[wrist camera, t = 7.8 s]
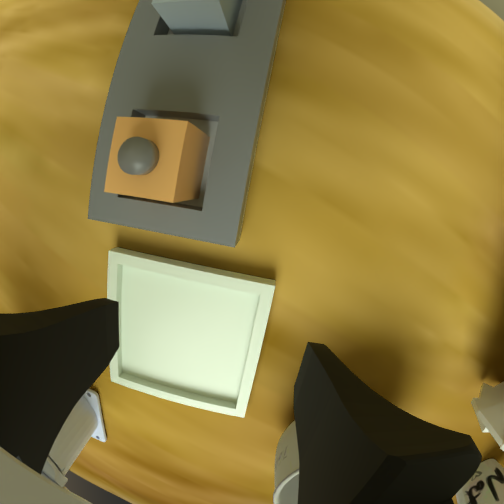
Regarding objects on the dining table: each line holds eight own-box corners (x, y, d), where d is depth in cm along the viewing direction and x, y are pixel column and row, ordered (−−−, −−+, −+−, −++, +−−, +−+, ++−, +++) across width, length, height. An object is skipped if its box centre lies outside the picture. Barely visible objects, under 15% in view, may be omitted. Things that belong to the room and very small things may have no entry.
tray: (116, 373, 23) (111, 381, 22) (116, 246, 20) (108, 250, 19) (245, 408, 22) (243, 417, 21) (275, 280, 20) (275, 286, 19)
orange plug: (142, 189, 19) (93, 192, 13) (153, 130, 18) (107, 113, 12) (198, 198, 19) (165, 204, 13) (210, 137, 18) (181, 116, 12)
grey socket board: (105, 214, 20) (87, 218, 17) (165, -20, 15) (155, -35, 13) (239, 239, 19) (234, 247, 17) (289, -17, 15) (290, -35, 13)
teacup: (256, 405, 22) (247, 480, 15) (383, 360, 21) (418, 428, 13) (306, 483, 25) (308, 540, 17) (401, 451, 23) (421, 506, 15)
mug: (497, 442, 23) (525, 487, 13) (507, 466, 24) (527, 501, 15) (437, 487, 25) (456, 535, 15) (460, 502, 26) (475, 539, 17)
